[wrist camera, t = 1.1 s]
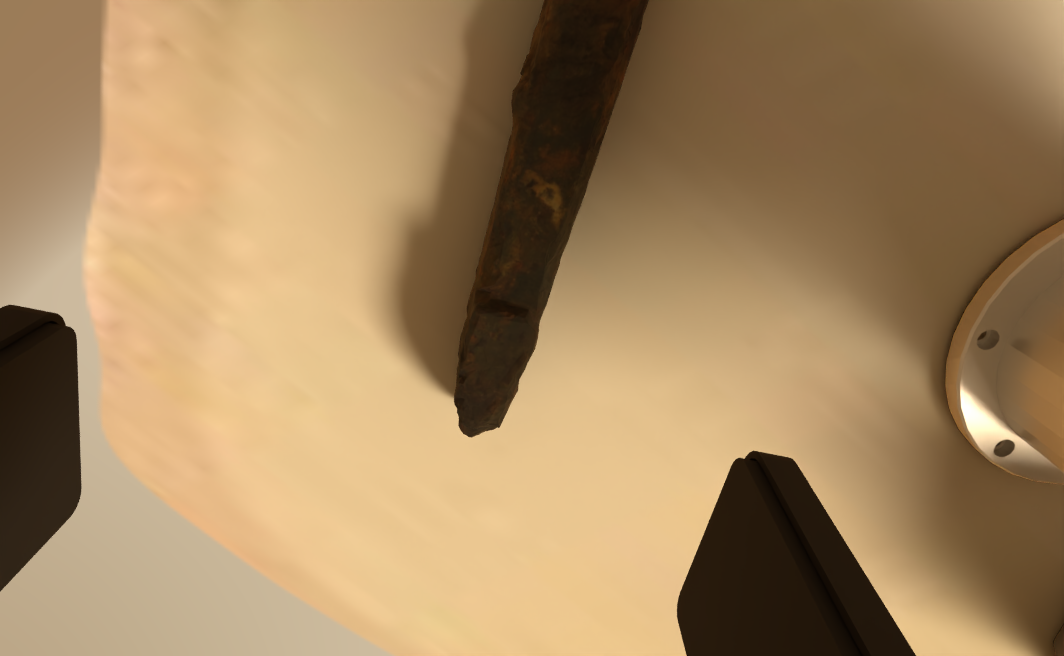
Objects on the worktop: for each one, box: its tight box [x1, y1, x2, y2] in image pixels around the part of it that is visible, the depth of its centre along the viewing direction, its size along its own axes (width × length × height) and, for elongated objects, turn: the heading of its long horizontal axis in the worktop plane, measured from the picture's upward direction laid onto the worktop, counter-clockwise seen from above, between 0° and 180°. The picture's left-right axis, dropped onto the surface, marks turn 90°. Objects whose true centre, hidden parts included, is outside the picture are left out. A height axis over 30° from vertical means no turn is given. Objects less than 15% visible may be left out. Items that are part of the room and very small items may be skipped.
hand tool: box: [454, 0, 648, 437], centre depth 24 cm, size 19×4×5 cm, turn 161°
